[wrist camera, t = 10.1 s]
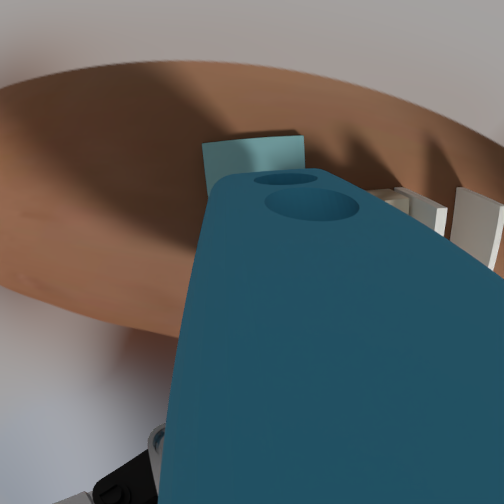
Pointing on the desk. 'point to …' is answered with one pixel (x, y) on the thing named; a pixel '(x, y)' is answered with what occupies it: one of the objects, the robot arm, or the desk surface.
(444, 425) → the block
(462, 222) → the rack
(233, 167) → the mat
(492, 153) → the desk surface
